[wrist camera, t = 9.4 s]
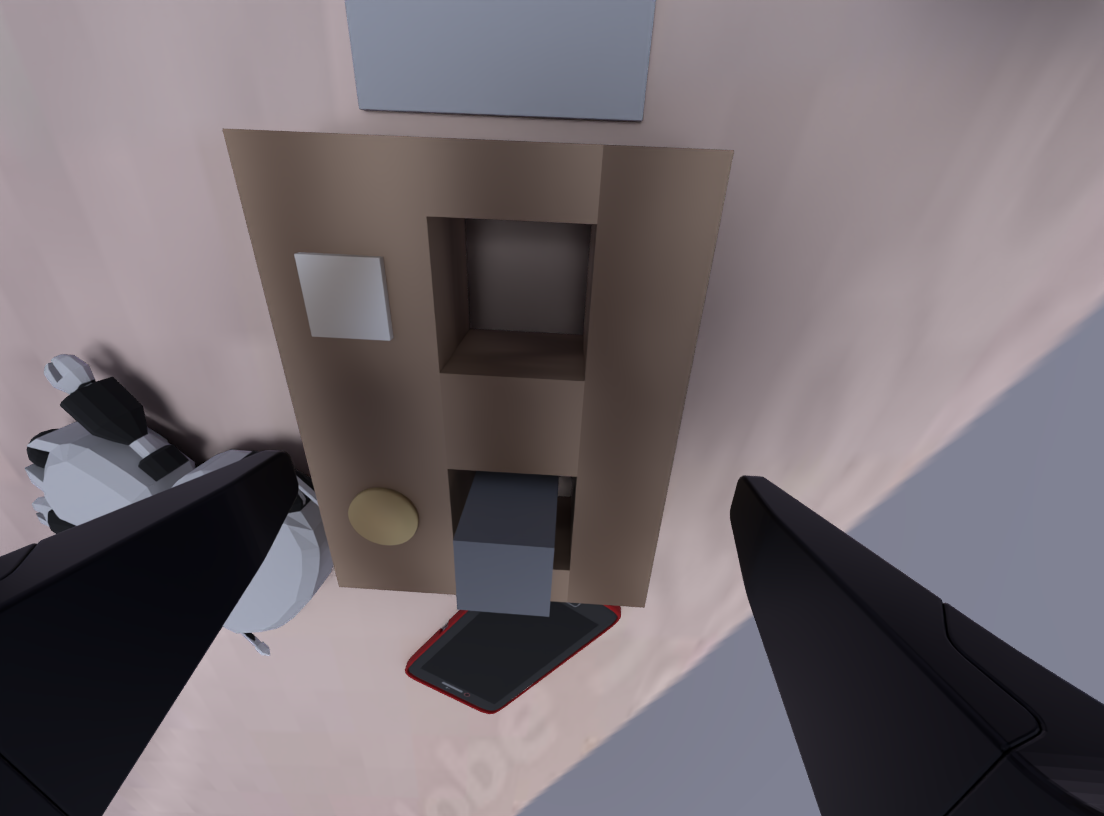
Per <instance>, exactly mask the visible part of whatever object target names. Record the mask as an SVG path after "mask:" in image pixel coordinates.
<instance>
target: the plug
mask: <svg viewBox="0 0 1104 816" xmlns="http://www.w3.org/2000/svg"><path fill="white" fill-rule="evenodd" d="M558 480H559V476H556V475H540V474H523V473H507V472H490V471H476V474H475V476H474V479H473V482H472V485H471V488H470V491H469V494H468V497H467V500H466V503H465V506H464V509H463V512H462V515H461V518H460V521H459V524H458V527H457V530H456V533H455V536H454V539H453V550H454V566H455V581H456V597H457V610H470V611H482V612H495V613H508V614H520V615H533V616H545V617H549V612H550V599H551V586H552V573H553V560H554V546H555V530H556V513H557V497H558Z"/></svg>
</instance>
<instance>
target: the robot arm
mask: <svg viewBox="0 0 1104 816" xmlns="http://www.w3.org/2000/svg"><path fill="white" fill-rule="evenodd" d="M298 491H299V483H298V480H297V476H296V473H295V470H294V467H293V464H292V460H291V457H290V455H289V454H288V453H287V452H285V451H274V450H265V451H261V452H259V453H256V454H254V455H252V456H249V457H247V458H244V459H242V460H239V461H237V462H234V463H232V464H229V465H227V466H224V467H222V468H219V469H217V470H214V471H212V472H209V473H207V474H204V475H202V476H199V477H197V478H194V479H192V480H189V481H187V482H185V483H182V484H180V485H177V486H175V487H172V488H170V489H167V490H165V491H162V492H160V493H157V494H155V495H152V496H150V497H147V498H145V499H142V500H140V501H137V502H135V503H132V504H130V505H127V506H125V507H122V508H120V509H118V510H115V511H113V512H110V513H108V514H105V515H103V516H100V517H98V518H95V519H93V520H90V521H88V522H85V523H83V524H80V525H78V526H75V527H73V528H70V529H68V530H65V531H63V532H60V533H58V534H56V535H53V536H51V537H48V538H46V539H43V540H41V541H40V542H39V543H38V544H36V543H34V544H30V545H28V546H25V547H23V548H21V549H18V550H16V551H13V552H11V553H8V554H6V555H3V556H1V557H0V816H102V815H103V814H104V812H105V810H106V809H107V807H108V806H109V804H110V803H111V801H112V799H113V798H114V796H115V795H116V793H117V792H118V790H119V788H120V787H121V785H122V784H123V782H124V781H125V779H126V777H127V776H128V774H129V773H130V771H131V770H132V768H133V766H134V765H135V763H136V762H137V760H138V759H139V757H140V755H141V754H142V752H143V751H144V749H145V748H146V746H147V744H148V743H149V741H150V740H151V738H152V737H153V735H154V733H155V732H156V730H157V729H158V727H159V726H160V724H161V722H162V721H163V719H164V718H165V716H166V715H167V713H168V711H169V710H170V708H171V707H172V705H173V704H174V702H175V700H176V699H177V697H178V696H179V694H180V693H181V691H182V689H183V688H184V686H185V685H186V683H187V682H188V680H189V678H190V677H191V675H192V674H193V672H194V671H195V669H196V667H197V666H198V664H199V663H200V661H201V660H202V658H203V656H204V655H205V653H206V652H207V650H208V649H209V647H210V645H211V644H212V642H213V641H214V639H215V638H216V636H217V634H218V633H219V631H220V630H221V628H222V627H223V625H224V623H225V622H226V620H227V619H228V617H229V616H230V614H231V612H232V611H233V609H234V608H235V606H236V605H237V603H238V602H239V600H240V598H241V597H242V595H243V594H244V592H245V591H246V589H247V587H248V586H249V584H250V583H251V581H252V580H253V578H254V576H255V575H256V573H257V572H258V570H259V568H260V567H261V565H262V563H263V562H264V560H265V558H266V556H267V554H268V552H269V551H270V549H271V547H272V545H273V543H274V541H275V539H276V537H277V535H278V533H279V531H280V529H281V527H282V525H283V523H284V521H285V519H286V517H287V515H288V513H289V511H290V509H291V507H292V505H293V503H294V501H295V499H296V497H297V495H298ZM730 520H731V525H732V530H733V535H734V540H735V544H736V549H737V554H738V558H739V563H740V568H741V572H742V577H743V581H744V586H745V590H746V593H747V597H748V600H749V603H750V606H751V609H752V612H753V615H754V618H755V621H756V624H757V627H758V630H759V633H760V636H761V639H762V642H763V645H764V648H765V651H766V653H767V656H768V659H769V662H770V665H771V668H772V671H773V674H774V677H775V680H776V683H777V686H778V689H779V692H780V694H781V698H782V701H783V704H784V706H785V710H786V712H787V715H788V718H789V721H790V724H791V727H792V730H793V733H794V736H795V739H796V742H797V745H798V748H799V751H800V754H801V756H802V760H803V763H804V765H805V769H806V771H807V775H808V777H809V780H810V783H811V786H812V789H813V792H814V795H815V798H816V801H817V804H818V807H819V810H820V813H821V816H1104V704H1102V703H1101V702H1099V701H1098V700H1096V699H1094V698H1092V697H1091V696H1089V695H1088V694H1086V693H1085V692H1083V691H1081V690H1080V689H1078V688H1076V687H1075V686H1073V685H1072V684H1070V683H1068V682H1067V681H1065V680H1063V679H1062V678H1060V677H1059V676H1057V675H1056V674H1054V673H1053V672H1051V671H1049V670H1048V669H1046V668H1044V667H1043V666H1041V665H1040V664H1038V663H1037V662H1035V661H1034V660H1032V659H1030V658H1029V657H1027V656H1025V655H1024V654H1022V653H1021V652H1019V651H1017V650H1016V649H1015V648H1013V647H1011V646H1010V645H1009V644H1007V643H1006V642H1004V641H1003V640H1001V639H999V638H998V637H996V636H995V635H993V634H992V633H991V632H989V631H987V630H986V629H984V628H983V627H981V626H980V625H979V624H977V623H975V622H974V621H973V620H971V619H970V618H968V617H967V616H965V615H964V614H962V613H961V612H960V611H958V610H957V609H955V608H954V607H952V606H951V605H949V604H948V603H943V602H942V600H941V599H940V598H939V597H938V596H936V595H935V594H933V593H932V592H930V591H929V590H927V589H926V588H924V587H923V586H921V585H920V584H919V583H917V582H915V581H914V580H913V579H911V578H910V577H908V576H907V575H906V574H904V573H903V572H901V571H900V570H898V569H897V568H895V567H894V566H892V565H891V564H889V563H888V562H886V561H885V560H884V559H882V558H881V557H879V556H878V555H876V554H875V553H874V552H872V551H871V550H869V549H868V548H866V547H865V546H863V545H862V544H860V543H859V542H857V541H856V540H855V539H853V538H852V537H850V536H849V535H847V534H846V533H844V532H843V531H842V530H840V529H839V528H837V527H836V526H834V525H833V524H831V523H830V522H828V521H827V520H825V519H824V518H823V517H821V516H820V515H818V514H817V513H815V512H814V511H812V510H811V509H809V508H808V507H807V506H805V505H804V504H802V503H801V502H799V501H798V500H796V499H795V498H793V497H792V496H791V495H789V494H788V493H786V492H785V491H783V490H782V489H780V488H779V487H777V486H776V485H775V484H773V483H772V482H770V481H769V480H767V479H766V478H764V477H761V476H742V477H740V478H739V480H738V482H737V486H736V490H735V493H734V497H733V501H732V505H731V509H730Z"/></svg>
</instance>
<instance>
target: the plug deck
mask: <svg viewBox="0 0 1104 816" xmlns="http://www.w3.org/2000/svg"><path fill="white" fill-rule="evenodd" d="M655 2H656V0H345V6H346V14H347V21H348V29H349V36H350V44H351V51H352V59H353V66H354V74H355V81H356V89H357V96H358V104H359V109H362V110H372V111H396V112H420V113H445V114H469V115H493V116H518V117H542V118H566V119H591V120H615V121H639V122H641V121H642V119H643V110H644V101H645V92H646V83H647V74H648V65H649V56H650V47H651V38H652V29H653V20H654V11H655Z"/></svg>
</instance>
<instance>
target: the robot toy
mask: <svg viewBox="0 0 1104 816" xmlns="http://www.w3.org/2000/svg"><path fill="white" fill-rule="evenodd" d="M51 361H52V362H51V363H48V364H47V365H46V366H45V369H44V375H45V376H46V378H47V379H48V380H49V382H50V383H51V384H52V386H53V387H54V388H56V389H59V390H61V391H64V392H66V393H68V394H70V395H69V396H67V397H66V398H65V399H64V400H63V401H62V402H61V404H60V406H61V407H62V408H63V409H64V410H65V411H66V412H67V413H69V414H70V415H71V416H72V417H73V418H74V419H75V420H76V422H74V423H72V424H69V425H67V426H65V427H62V428H60V429H51V430H48V431H44V432H41V433H39V434H38V435H36V436H35V437H33V438H32V439H31V441H30V443H29V444H28V445H27V454H28V457H29V460H30V461H31V462H33V463H34V464H32V465H30V466H28V467H26V468H25V470H26V472H27V474H28V476H29V478H30V480H31V482H32V483H33V484H34V485H35V486H37V487H38V488H39V489H40V490H42V491H43V492H44V496H45V497H39V498H37V499H36V500H35V501H34V502H33V503H32V506H33V508H34V510H36V511H38V513H36V514H37V516H38V518H39V520H40V522H41V523H42V524H44V525H47V526H49V527H50V529H51V531H53V532H54V533H56V534H58V533H60V532H63V531H65V530H68V529H70V528H73V527H75V526H78V525H80V524H83V523H85V522H88V521H90V520H93V519H95V518H98V517H100V516H103V515H105V514H108V513H110V512H113V511H115V510H118V509H120V508H122V507H125V506H127V505H130V504H132V503H135V502H137V501H140V500H142V499H145V498H147V497H150V496H152V495H155V494H157V493H160V492H162V491H165V490H167V489H170V488H172V487H175V486H177V485H180V484H182V483H185V482H187V481H189V480H192V479H194V478H197V477H199V476H202V475H204V474H207V473H209V472H212V471H214V470H217V469H219V468H222V467H224V466H227V465H229V464H232V463H234V462H237V461H239V460H242V459H244V458H247V457H249V456H252V455H254V454H256V453H259V452H258V451H243V450H232V449H231V450H229V451H226V452H223V453H220V454H217V455H215V456H214V457H212V458H211V459H209V460H208V461H206V462H204V463H203V464H201V465H200V466H198V467H197V468H195V462H194V461H193V460H191V459H190V458H189V457H187V456H186V455H185V454H183V453H182V452H181V451H179V450H178V449H177V448H176V447H175V446H174V445H171V444H169V443H168V440H167V439H165V438H164V437H162V436H161V435H159V434H158V433H156V432H154V431H153V430H151V429H150V428H148V427H147V422H146V418H145V414H144V409H143V406H142V405H141V404H140V403H139V402H138V401H137V400H136V399H135V398H134V397H133V396H132V395H131V394H130V393H129V392H128V391H127V390H126V389H125V388H124V387H123V386H122V385H121V384H120V383H119V382H118V381H117V380H116V379H115V378H114V377H110V378H107V379H103V380H100V381H97V382H96V381H95V378H94V376H93V373H92V371H91V368H90V366H89V365H88V364H87V363H85V362H84V361H82V360H81V359H79V358H78V357H76V356H75V355H68V354H62V355H58V356H56V357H54V358H53V359H52V360H51ZM294 470H295V473H296V476H297V480H298V483H299V491H298V495H297V497H296V499H295V501H294V503H293V505H292V507H291V509H290V511H289V513H288V515H287V517H286V519H285V521H284V523H283V525H282V527H281V529H280V531H279V533H278V535H277V537H276V539H275V541H274V543H273V545H272V547H271V549H270V551H269V552H268V554H267V556H266V558H265V560H264V562H263V563H262V565H261V567H260V568H259V570H258V572H257V573H256V575H255V576H254V578H253V580H252V581H251V583H250V584H249V586H248V587H247V589H246V591H245V592H244V594H243V595H242V597H241V598H240V600H239V602H238V603H237V605H236V606H235V608H234V609H233V611H232V612H231V614H230V616H229V617H228V619H227V620H226V622H225V623H224V625H223V627H225V628H227V629H229V630H231V631H233V632H235V633H241V634H242V635H243V636H244V637H245V638H246V639H247V640H248V641H249V642H250V643H252V644H253V645H254V646H255V647H256V650H257V651H258V652H259V653H260V654H261V655H269V656H270V650H269V647H268V646H267V645H266V644H265V643H264V642H261V641H260V640H259V639H257V638H256V637H255V636H254V635H253V634H252V633H251V632H263V631H267V630H272V629H277V628H279V627H281V626H283V625H284V624H285V623H287V622H288V621H290V620H291V619H292V618H294V617H295V616H296V615H297V613H298V612H299V611H300V610H301V609H302V608H303V607H304V606H305V605H306V604H307V603H308V602H309V601H310V600H311V598H312V597H313V596H314V594H315V593H316V592H317V590H318V589H319V588H320V586H321V585H322V584H323V582H324V581H325V579H326V578H327V577H328V575H329V574H330V573H331V571H332V568H333V561H332V557H331V553H330V549H329V545H328V541H327V537H326V533H325V529H324V525H323V522H322V518H321V514H320V510H319V506H318V502H317V498H316V494H315V490H314V486H313V482H312V478H310V477H309V476H307V475H305V474H303V473H301V472H300V471H298V470H296V469H294Z"/></svg>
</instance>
